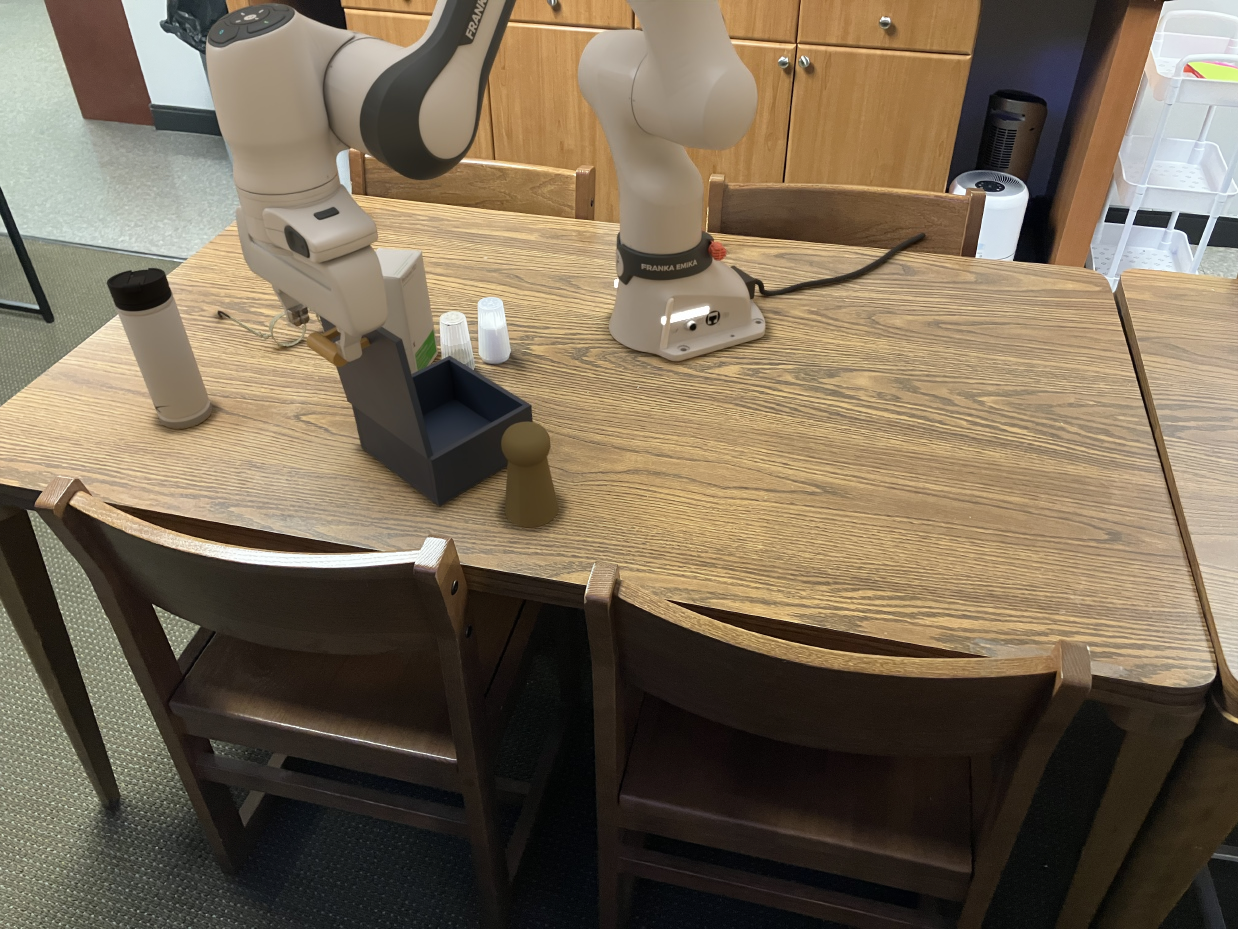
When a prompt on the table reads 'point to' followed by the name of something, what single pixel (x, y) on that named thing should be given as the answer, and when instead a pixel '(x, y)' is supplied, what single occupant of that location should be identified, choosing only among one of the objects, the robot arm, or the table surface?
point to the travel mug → (161, 346)
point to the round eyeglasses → (269, 328)
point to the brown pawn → (528, 475)
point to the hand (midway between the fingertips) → (324, 339)
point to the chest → (449, 431)
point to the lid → (378, 382)
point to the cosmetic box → (409, 304)
